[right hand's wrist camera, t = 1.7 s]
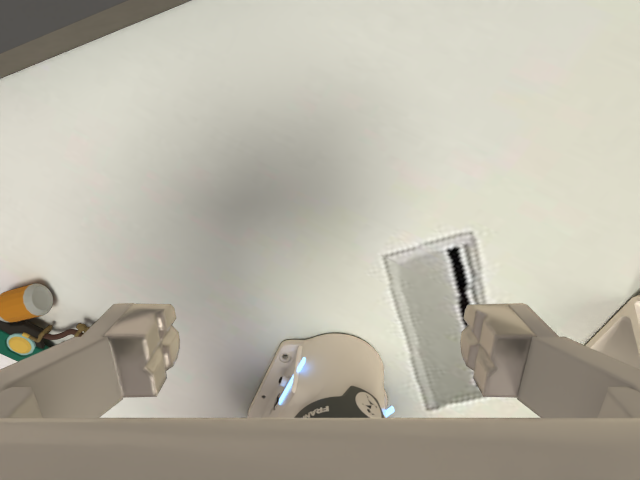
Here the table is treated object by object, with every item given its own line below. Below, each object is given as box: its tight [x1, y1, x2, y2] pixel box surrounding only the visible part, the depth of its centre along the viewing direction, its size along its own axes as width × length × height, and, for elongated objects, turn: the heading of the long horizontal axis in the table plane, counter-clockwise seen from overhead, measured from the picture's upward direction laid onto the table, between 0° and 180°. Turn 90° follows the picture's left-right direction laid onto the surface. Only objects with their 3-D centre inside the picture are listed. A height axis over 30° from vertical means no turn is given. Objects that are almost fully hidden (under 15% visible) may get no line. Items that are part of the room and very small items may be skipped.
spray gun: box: [0, 284, 90, 362], centre depth 50 cm, size 4×17×15 cm
